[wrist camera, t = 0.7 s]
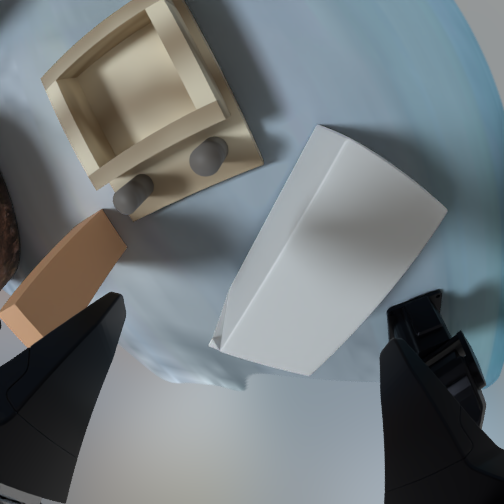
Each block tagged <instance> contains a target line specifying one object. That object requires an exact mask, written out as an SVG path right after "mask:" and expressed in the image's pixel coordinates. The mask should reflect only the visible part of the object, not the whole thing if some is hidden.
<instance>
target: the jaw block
mask: <svg viewBox="0 0 504 504" xmlns="http://www.w3.org/2000/svg"><path fill="white" fill-rule="evenodd" d="M126 248H127V246H126V245H125V243H124V242H123V240H122V239H121V237H120V236H119V234H118V233H117V231H116V230H115V228H114V227H113V225H112V224H111V222H110V221H109V219H108V217H107V216H106V214H105V213H104V211H103V209H101V210H99V211H98V212H96V213H95V214H93V215H92V216H90V217H88V218H87V219H85V220H84V221H82V222H81V223H79V224H78V225H76V226H75V227H74V228H73V229H72V230H71V231H70V232H69V233H68V234H67V235H66V236H65V237H64V238H63V239H62V240H61V241H60V242H59V243H58V244H57V245H56V246H55V247H54V248H53V249H52V250H51V251H50V252H49V253H48V254H47V255H46V256H45V257H44V258H43V259H42V261H41V262H40V263H39V264H38V265H37V266H36V267H35V268H34V269H33V271H32V272H31V273H30V274H29V275H28V276H27V277H26V279H25V280H24V281H23V282H22V283H21V285H20V286H19V287H18V288H17V289H16V291H15V292H14V293H13V294H12V296H11V297H10V298H9V299H8V301H7V302H6V303H5V305H4V306H3V307H2V309H1V310H0V318H1V319H2V320H3V321H4V322H5V324H6V325H7V326H8V327H9V328H10V329H11V330H12V332H13V333H14V334H15V335H16V336H17V337H18V338H19V339H20V340H21V341H22V342H23V343H24V344H25V345H26V347H27V348H28V347H30V346H31V345H33V344H34V343H35V342H37V341H38V340H40V339H41V338H43V337H44V336H45V335H47V334H48V333H50V332H51V331H52V330H54V329H55V328H57V327H58V326H60V325H61V324H63V323H64V322H66V321H67V320H68V319H70V318H71V317H73V316H74V315H76V314H77V313H79V312H80V311H82V310H83V309H85V308H86V307H87V306H88V304H89V303H90V301H91V300H92V298H93V297H94V295H95V293H96V292H97V290H98V289H99V287H100V286H101V284H102V283H103V281H104V280H105V278H106V277H107V275H108V274H109V272H110V271H111V270H112V268H113V267H114V265H115V264H116V262H117V261H118V260H119V258H120V257H121V255H122V254H123V253H124V251H125V250H126Z"/></svg>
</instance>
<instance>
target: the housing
mask: <svg viewBox="0 0 504 504" xmlns="http://www.w3.org/2000/svg"><path fill="white" fill-rule="evenodd" d="M41 81H42V83H43V86H44V88H45V90H46V93H47V95H48V97H49V100H50V102H51V104H52V107H53V109H54V111H55V113H56V115H57V117H58V120H59V122H60V124H61V126H62V128H63V130H64V132H65V134H66V136H67V138H68V140H69V142H70V144H71V146H72V148H73V150H74V151H75V153H76V155H77V157H78V159H79V161H80V163H81V164H82V166H83V168H84V170H85V172H86V173H87V175H88V177H89V179H90V180H91V182H92V184H93V186H94V187H95V189H96V191H97V190H98V189H100V188H101V187H103V186H104V185H106V184H107V183H110V185H111V186H112V188H113V190H114V192H115V194H114V196H113V203H114V206H115V208H116V209H117V210H118V211H119V212H120V213H122V214H124V215H129V216H130V218H131V219H132V221H133V222H134V221H136V220H138V219H140V218H142V217H144V216H146V215H148V214H150V213H152V212H155V211H157V210H159V209H161V208H163V207H165V206H167V205H169V204H171V203H174V202H176V201H178V200H180V199H182V198H184V197H187V196H189V195H191V194H193V193H196V192H198V191H200V190H202V189H205V188H207V187H209V186H212V185H214V184H216V183H219V182H221V181H224V180H226V179H228V178H231V177H233V176H236V175H238V174H241V173H243V172H246V171H248V170H251V169H253V168H256V167H259V166H261V165H264V160H263V158H262V156H261V153H260V151H259V149H258V147H257V144H256V142H255V140H254V138H253V135H252V133H251V131H250V129H249V127H248V125H247V122H246V120H245V118H244V116H243V114H242V112H241V110H240V107H239V105H238V103H237V101H236V99H235V97H234V95H233V93H232V91H231V89H230V87H229V85H228V83H227V81H226V78H225V76H224V74H223V72H222V70H221V68H220V66H219V64H218V63H217V61H216V59H215V57H214V55H213V53H212V51H211V49H210V47H209V45H208V43H207V41H206V39H205V37H204V36H203V34H202V32H201V30H200V28H199V26H198V24H197V23H196V21H195V19H194V17H193V15H192V13H191V12H190V10H189V8H188V6H187V4H186V3H185V1H184V0H132V1H130V2H129V3H127V4H126V5H124V6H123V7H121V8H120V9H118V10H117V11H116V12H114V13H113V14H111V15H110V16H109V17H107V18H106V19H105V20H103V21H102V22H101V23H100V24H98V25H97V26H96V27H94V28H93V29H92V30H91V31H90V32H88V33H87V34H86V35H85V36H84V37H82V38H81V39H80V40H79V41H78V42H77V43H76V44H75V45H73V46H72V47H71V48H70V49H69V50H68V51H67V52H66V53H65V54H64V55H63V56H62V57H61V58H60V59H59V60H58V61H57V62H56V63H55V64H54V65H53V66H52V67H51V68H50V69H49V70H48V71H47V72H46V73H45V74H44V75H43V77H42V78H41Z"/></svg>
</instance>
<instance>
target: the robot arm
mask: <svg viewBox="0 0 504 504" xmlns="http://www.w3.org/2000/svg"><path fill="white" fill-rule="evenodd" d="M441 299H442V293H441V292H440V291H439V290H437V291H435V292H432V293H430V294H427V295H424V296H422V297H419V298H417V299H414V300H411V301H409V302H406V303H403V304H400V305H398V306H395V307H392V308H390V309H388V310H387V322H388V335H389V342H388V344H387V345H386V346H385V348H384V349H383V350H382V352H381V354H380V392H381V393H380V394H381V405H382V418H383V432H384V451H385V498H384V504H504V450H503V449H501V448H499V447H498V446H497V445H496V444H495V443H494V442H493V441H492V440H491V439H490V438H489V437H488V436H487V435H486V434H485V433H484V431H483V430H482V424H483V420H484V415H485V409H486V402H485V399H484V396H483V394H482V391H481V388H483V387H484V386H486V382H485V379H484V377H483V374H482V371H481V368H480V365H479V363H478V360H477V358H476V356H475V354H474V352H473V350H472V348H471V346H470V344H469V342H468V341H467V339H466V338H465V336H464V334H463V333H462V331H461V330H460V331H459V332H458V333H457V334H456V335H455V336H454V337H453V338H452V337H451V335H450V333H449V331H448V329H447V327H446V325H445V323H444V321H443V319H442V317H441V315H440V308H441ZM125 318H126V309H125V304H124V299H123V296H122V295H121V294H119V293H115V292H109V293H108V294H106V295H104V296H103V297H101V298H100V299H98V300H97V301H95V302H94V303H92V304H91V305H89V306H88V307H86V308H85V309H83V310H82V311H80V312H79V313H77V314H76V315H74V316H73V317H71V318H70V319H68V320H67V321H66V322H64V323H63V324H61V325H60V326H58V327H57V328H55V329H54V330H52V331H51V332H50V333H48V334H47V335H45V336H44V337H43V338H41V339H40V340H38V341H37V342H35V343H34V344H33V345H31V346H30V347H28V348H27V349H26V350H24V351H23V352H22V353H20V354H19V355H17V356H16V357H14V358H13V359H11V360H10V361H8V362H7V363H5V364H4V365H2V366H1V367H0V504H41V498H45V499H49V500H52V501H57V502H61V503H66V500H67V496H68V492H69V488H70V484H71V480H72V476H73V473H74V469H75V465H76V462H77V458H78V455H79V451H80V448H81V445H82V442H83V438H84V435H85V432H86V429H87V426H88V423H89V420H90V418H91V414H92V412H93V409H94V406H95V404H96V401H97V398H98V395H99V393H100V390H101V388H102V385H103V382H104V380H105V377H106V375H107V372H108V370H109V367H110V365H111V363H112V360H113V357H114V354H115V351H116V347H117V344H118V341H119V337H120V334H121V331H122V328H123V325H124V321H125ZM465 355H466V356H465Z"/></svg>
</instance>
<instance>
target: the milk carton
mask: <svg viewBox="0 0 504 504" xmlns="http://www.w3.org/2000/svg"><path fill="white" fill-rule="evenodd" d="M447 211H448V210H447V209H446V208H445V207H444V206H443V205H442V204H441V203H440V202H439V201H438V200H437V199H436V198H434V197H433V196H432V195H431V194H430V193H429V192H428V191H426V190H425V189H424V188H423V187H422V186H420V185H419V184H418V183H417V182H416V181H414V180H413V179H412V178H410V177H409V176H408V175H407V174H405V173H404V172H402V171H401V170H400V169H398V168H397V167H396V166H394V165H393V164H391V163H390V162H389V161H387V160H386V159H384V158H383V157H381V156H380V155H378V154H377V153H375V152H374V151H372V150H370V149H369V148H367V147H366V146H364V145H362V144H360V143H359V142H357V141H355V140H353V139H351V138H349V137H347V136H345V135H343V134H341V133H339V132H336V131H334V130H332V129H329V128H327V127H324V126H321V125H317V126H316V127H315V129H314V131H313V133H312V135H311V136H310V138H309V140H308V142H307V144H306V146H305V148H304V149H303V151H302V153H301V155H300V157H299V159H298V161H297V163H296V164H295V166H294V168H293V170H292V172H291V174H290V176H289V178H288V179H287V181H286V183H285V185H284V187H283V189H282V191H281V192H280V194H279V196H278V198H277V200H276V202H275V204H274V206H273V207H272V209H271V211H270V213H269V215H268V217H267V219H266V221H265V223H264V224H263V226H262V228H261V230H260V232H259V234H258V236H257V238H256V239H255V241H254V243H253V245H252V247H251V249H250V251H249V253H248V254H247V256H246V258H245V260H244V262H243V264H242V266H241V268H240V270H239V271H238V273H237V275H236V277H235V279H234V281H233V283H232V285H231V287H230V288H229V291H228V294H227V297H226V300H225V303H224V306H223V308H222V311H221V314H220V317H219V320H218V323H217V326H216V329H215V332H214V335H213V338H212V340H211V341H210V343H209V347H212V348H215V349H218V350H219V351H220V352H223V353H226V354H229V355H232V356H235V357H239V358H242V359H245V360H249V361H252V362H256V363H259V364H263V365H266V366H270V367H274V368H278V369H281V370H285V371H289V372H293V373H298V374H302V375H306V376H310V375H311V374H312V373H313V372H314V371H316V370H317V369H318V368H319V367H320V366H321V365H322V364H323V363H324V362H325V361H326V360H327V359H328V358H329V357H330V356H331V355H332V354H333V353H334V352H335V351H336V350H337V349H338V348H339V347H340V346H341V345H342V344H343V343H344V342H345V341H346V340H347V339H348V338H349V337H350V336H351V335H352V334H353V333H354V332H355V331H356V330H357V328H358V327H359V326H360V325H361V324H362V323H363V322H364V321H365V320H366V319H367V318H368V316H369V315H370V314H371V313H372V312H373V311H374V310H375V308H376V307H377V306H378V305H379V304H380V303H381V301H382V300H383V299H384V298H385V297H386V296H387V294H388V293H389V292H390V291H391V290H392V288H393V287H394V286H395V285H396V283H397V282H398V281H399V280H400V278H401V277H402V276H403V274H404V273H405V272H406V271H407V269H408V268H409V267H410V265H411V264H412V263H413V261H414V260H415V259H416V257H417V256H418V255H419V253H420V252H421V250H422V249H423V248H424V246H425V245H426V243H427V242H428V241H429V239H430V238H431V236H432V235H433V233H434V232H435V230H436V229H437V227H438V226H439V224H440V223H441V221H442V220H443V218H444V217H445V215H446V213H447Z"/></svg>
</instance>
